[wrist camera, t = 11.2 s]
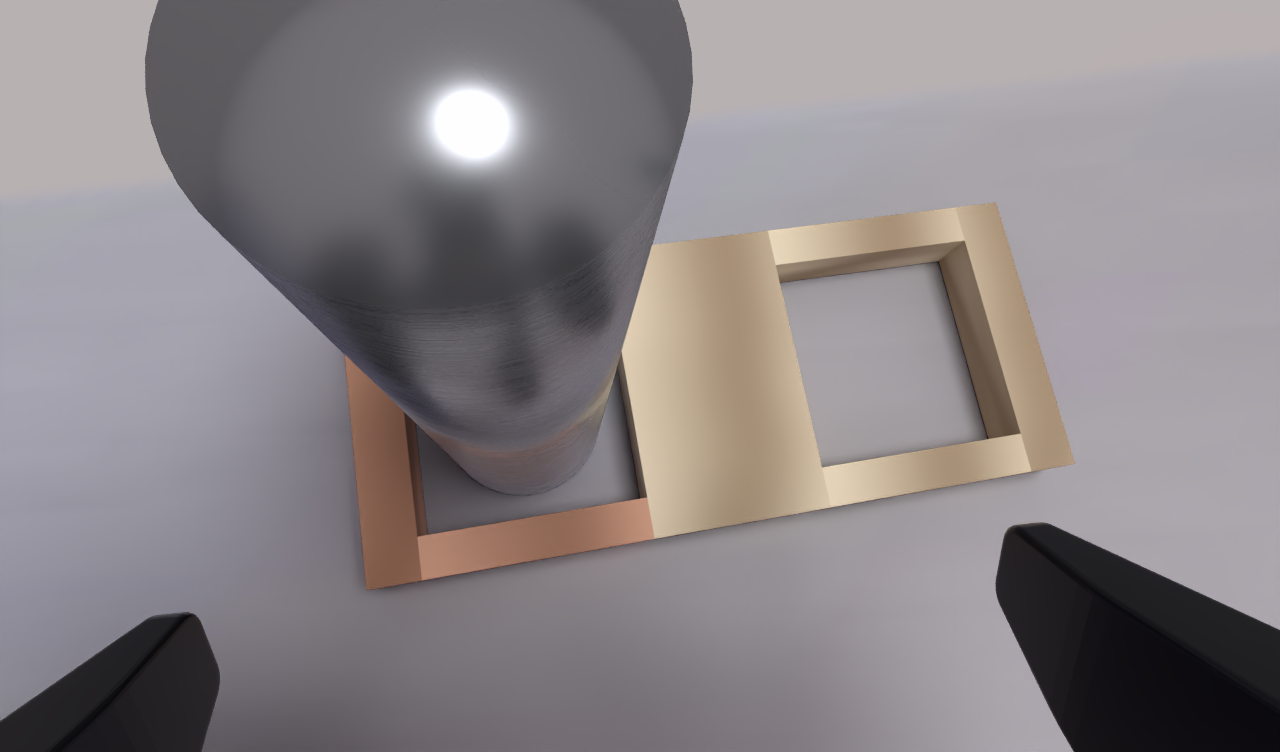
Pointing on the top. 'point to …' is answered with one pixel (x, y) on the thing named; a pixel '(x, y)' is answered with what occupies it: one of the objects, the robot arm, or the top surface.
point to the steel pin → (440, 192)
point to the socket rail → (737, 400)
